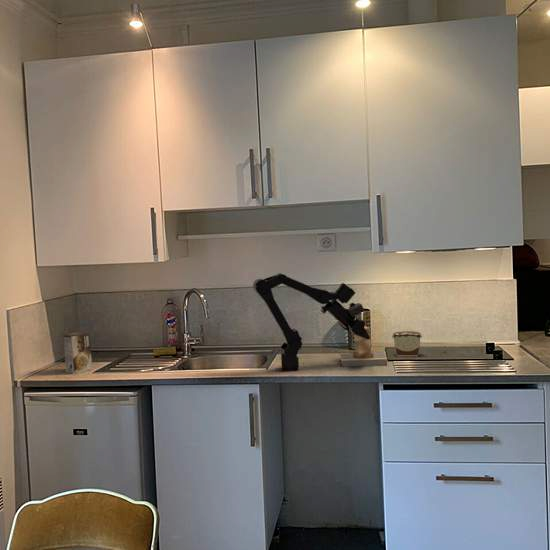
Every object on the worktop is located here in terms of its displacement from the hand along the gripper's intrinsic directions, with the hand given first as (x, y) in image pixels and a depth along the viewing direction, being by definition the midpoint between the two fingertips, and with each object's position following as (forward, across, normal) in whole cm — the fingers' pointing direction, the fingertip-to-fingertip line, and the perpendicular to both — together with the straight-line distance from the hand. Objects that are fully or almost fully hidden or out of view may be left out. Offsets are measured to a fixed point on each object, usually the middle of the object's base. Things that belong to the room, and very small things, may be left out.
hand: (365, 336), depth 250 cm
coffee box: (-75, +31, +91) cm, 122 cm away
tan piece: (+5, 0, +7) cm, 8 cm away
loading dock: (+6, 0, +8) cm, 11 cm away
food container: (+22, +6, -7) cm, 25 cm away
